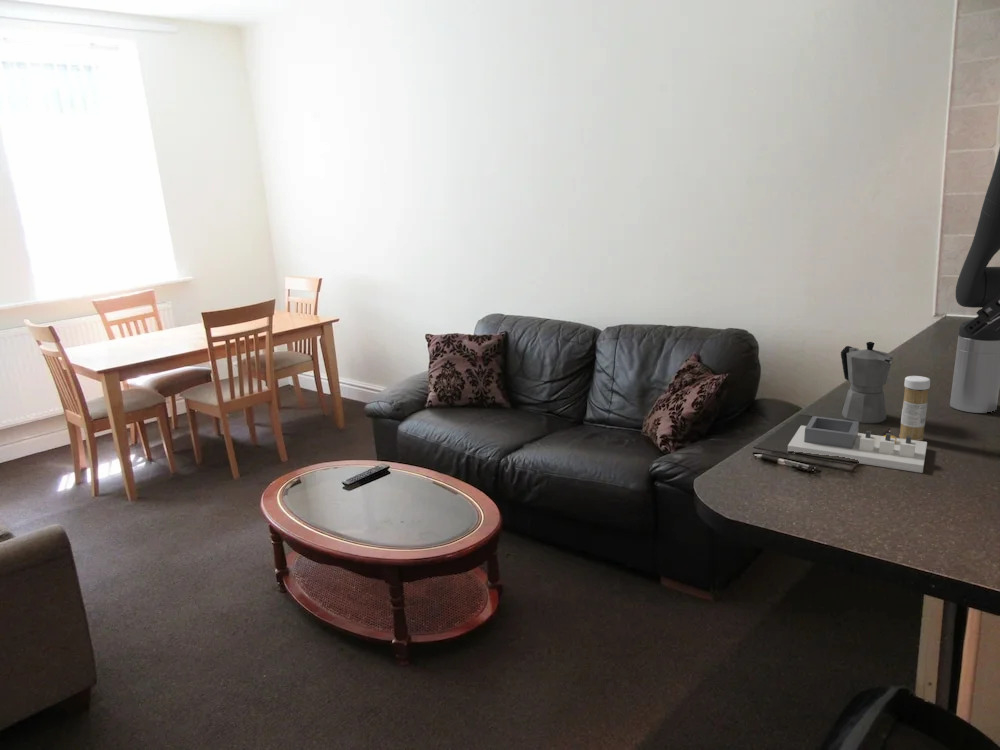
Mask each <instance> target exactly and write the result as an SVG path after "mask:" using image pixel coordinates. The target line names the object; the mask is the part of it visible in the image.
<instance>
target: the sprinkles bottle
mask: <svg viewBox="0 0 1000 750" xmlns="http://www.w3.org/2000/svg"><path fill="white" fill-rule="evenodd" d="M903 383H904V384H903V385H904V386H903V387H904V395H903V401H902V409H901V418H900V431H899V435H898V436H899V437H898V438H901V439H906V437H907V436H911V440H916V441H923V440H924V433H925V426H926V420H927V412H928V411H927V409H928V399H929V398H928V397H929V396H928V395H929V390H930V386H931V379H930V378H929V377H926V376H921V375H908V376H906V377H905V378H904V382H903Z"/></svg>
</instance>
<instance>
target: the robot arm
mask: <svg viewBox="0 0 1000 750" xmlns="http://www.w3.org/2000/svg"><path fill="white" fill-rule="evenodd" d="M985 193H986V194H985V197H984V200H983V203H982V207H981V210H980V214H979V218H978V222H977V226H976V230H975V233H974V236H973V240H972V242H971V244H970V245H971V246H970V247H969V251H968V252H967V255H966V258H965V260H964V261H963V264H962V267H961V269H960V273H959V275H958V277H957V282H956V286H955V301H956V303H957V304H958V305H959V306H961V307H963V308H974V309H975V308H977V309H978V310H977V312H976V315H977V316H976V317H975V318H972V319H970V320H965V321H964V322H962V323H961V324H960V325H959V327H958V328H959V330H958V336H957V337H958V338H957V343H956V344H957V345H956V353H955V361H954V362H955V363H954V367H953V368H954V369H953V377H952V386H951V392H950V393H951V394H950V402H949V406H950V407H951V408H952V409H955V410H958V411H961V412H965V413H966V412H967V413H973V414H974V413H975V414H988V413H987V412H991V413H993V412H992V411H994V412H996V411H997V408H998V407H997V406H998V400H999V394H1000V266H988V265H989V264H990V261H991V260H992V259H993V257H994V256H995V255H996V254H997V253H998V252H999V251H1000V147H999V149H998V153H997V157H996V162H995V165H994V168H993V171H992V175H991V178H990V181H989V184H988V188H987V189H986V192H985ZM995 410H996V411H995Z"/></svg>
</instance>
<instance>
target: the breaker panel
mask: <svg viewBox="0 0 1000 750" xmlns="http://www.w3.org/2000/svg"><path fill="white" fill-rule="evenodd" d="M859 426H860V423H859V422H858V421H850V420H848V419H841V418H834V417H833V418H832V417H823V416H817V415H816V416H815V415H812V417H811V418H810V420H809V422H808V423H807V425H802V424H801V425H800V427H799V428H798V429H797V431H796V432H795V434H794V435H793V437H792V438H791V440H790V441H789V443H788V444H787V451H794V452H803V453H811V454H819V455H829V456H839V457H845V458H850V459H855V460H858V461H859V463H858V464H862V465H868V466H875V467H881V468H887V469H893V470H899V471H900V470H901V471H908V472H913V473H921V474H924V473H923V472H924V467H925V466H924V465H925V460H926V459H925V458H926V453H927V446H928V442H927V441H923V440H922V441H916V440H911V436H907V437H906V439H901V438H900V437H897V436H896V435H892V433H889V432H886V433H885V435H877V434H876V435H875V434H871V433H872V431H871V430H866V431H865V433H861V432H859Z"/></svg>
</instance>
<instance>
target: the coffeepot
mask: <svg viewBox="0 0 1000 750" xmlns="http://www.w3.org/2000/svg"><path fill="white" fill-rule="evenodd" d="M874 346H875V342H873V341H867V342H866V348H865V349H860V348H858V347H854V346H853V347H852V346H850V345H845V347H844V348H843V349H842V350H841V351H840V358H841V363H842V371H843V376H844V380H846V381H849V383H850V388H849V389H848V390H847V394H846V397H845V400H844V404H843V408H842V412H841V415H842V417H843V418H845V420H850V421H858V422H859V424H861V423H862V424H879V423H882V422H884V421H885V420H887V413H886V411H887V410H886V409H887V408H886V403H885V393H884V391H883V389H884V385H886V383H887V380H888V376H889V373H890V369H891V366H892V364H893V358H894V356H893V355H892V354H889V353H888V352H886V351H885V352H884V351H880V350H876V349H874Z"/></svg>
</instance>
